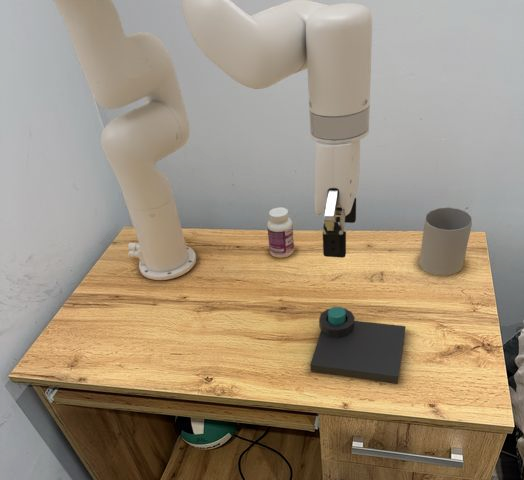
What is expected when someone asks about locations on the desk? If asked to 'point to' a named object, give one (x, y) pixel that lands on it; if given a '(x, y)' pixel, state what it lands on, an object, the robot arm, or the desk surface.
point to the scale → (359, 349)
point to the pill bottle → (280, 233)
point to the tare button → (336, 315)
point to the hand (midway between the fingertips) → (340, 238)
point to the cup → (445, 241)
